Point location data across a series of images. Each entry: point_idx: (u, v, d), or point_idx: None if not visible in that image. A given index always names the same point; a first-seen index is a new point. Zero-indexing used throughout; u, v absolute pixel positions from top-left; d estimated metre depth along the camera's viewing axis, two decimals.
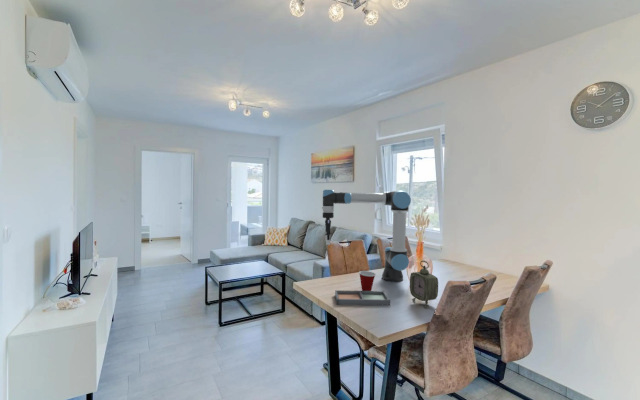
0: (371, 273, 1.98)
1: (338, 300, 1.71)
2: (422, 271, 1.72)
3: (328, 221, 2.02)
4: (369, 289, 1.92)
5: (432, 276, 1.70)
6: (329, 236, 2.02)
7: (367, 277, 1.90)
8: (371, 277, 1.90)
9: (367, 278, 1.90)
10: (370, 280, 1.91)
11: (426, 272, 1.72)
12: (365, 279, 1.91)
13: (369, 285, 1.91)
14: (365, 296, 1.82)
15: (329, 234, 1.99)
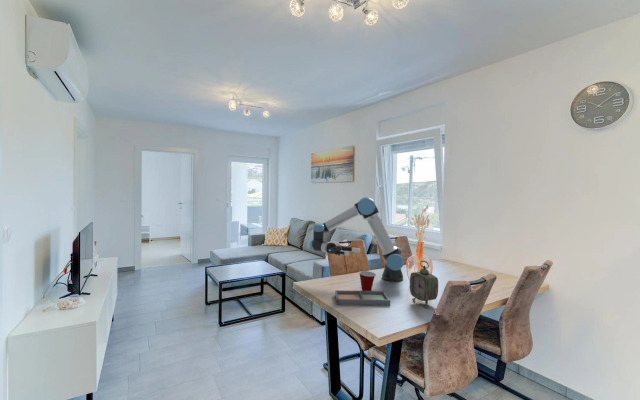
0: (371, 273, 1.98)
1: (338, 300, 1.71)
2: (422, 271, 1.72)
3: (329, 250, 2.05)
4: (369, 289, 1.92)
5: (432, 276, 1.70)
6: (341, 251, 1.98)
7: (367, 277, 1.90)
8: (371, 277, 1.90)
9: (367, 278, 1.90)
10: (370, 280, 1.91)
11: (426, 272, 1.72)
12: (365, 279, 1.91)
13: (369, 285, 1.91)
14: (365, 296, 1.82)
15: (337, 251, 1.97)
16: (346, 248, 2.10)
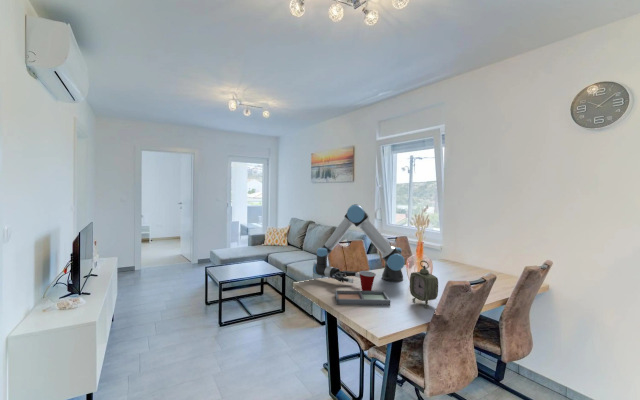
0: (371, 273, 1.98)
1: (338, 300, 1.71)
2: (422, 271, 1.72)
3: (333, 276, 2.03)
4: (369, 289, 1.92)
5: (432, 276, 1.70)
6: (345, 278, 1.96)
7: (367, 277, 1.90)
8: (371, 277, 1.90)
9: (367, 278, 1.90)
10: (370, 280, 1.91)
11: (426, 272, 1.72)
12: (365, 279, 1.91)
13: (369, 285, 1.91)
14: (365, 296, 1.82)
15: (341, 278, 1.95)
16: (350, 273, 2.08)
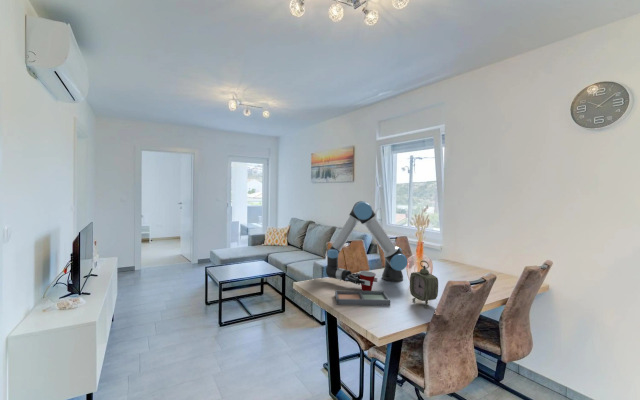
0: (371, 273, 1.98)
1: (338, 300, 1.71)
2: (422, 271, 1.72)
3: (346, 279, 1.97)
4: (369, 289, 1.92)
5: (432, 276, 1.70)
6: (361, 280, 1.91)
7: (367, 277, 1.90)
8: (371, 277, 1.90)
9: (367, 278, 1.90)
10: (370, 280, 1.91)
11: (426, 272, 1.72)
12: (365, 279, 1.91)
13: None
14: (365, 296, 1.82)
15: (357, 281, 1.91)
16: None
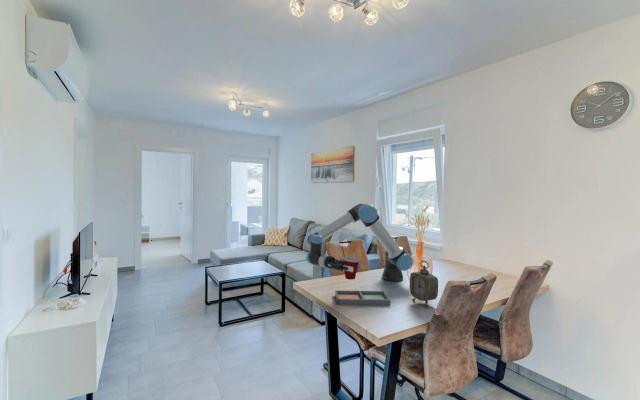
0: (355, 259, 1.85)
1: (338, 300, 1.71)
2: (422, 271, 1.72)
3: (329, 265, 1.84)
4: (353, 276, 1.79)
5: (432, 276, 1.70)
6: (344, 266, 1.78)
7: (350, 263, 1.77)
8: (355, 263, 1.77)
9: (350, 263, 1.77)
10: (354, 266, 1.78)
11: (426, 272, 1.72)
12: (348, 265, 1.78)
13: (353, 271, 1.79)
14: (365, 296, 1.82)
15: (339, 267, 1.78)
16: None
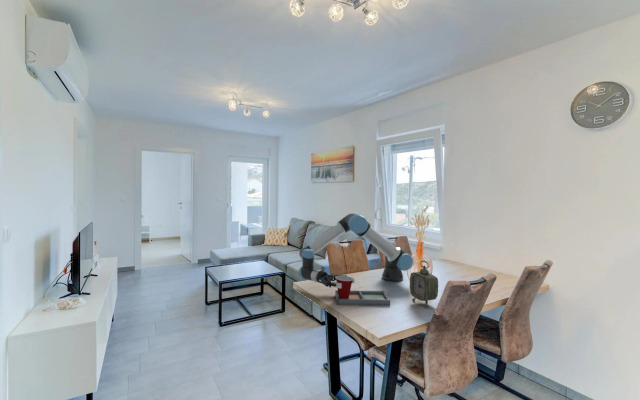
0: (349, 278, 1.81)
1: (338, 300, 1.71)
2: (422, 271, 1.72)
3: (319, 280, 1.83)
4: (346, 295, 1.75)
5: (432, 276, 1.70)
6: (333, 282, 1.77)
7: (343, 282, 1.74)
8: (347, 282, 1.74)
9: (343, 282, 1.74)
10: (346, 285, 1.74)
11: (426, 272, 1.72)
12: None
13: (346, 291, 1.74)
14: (365, 296, 1.82)
15: (328, 283, 1.76)
16: None
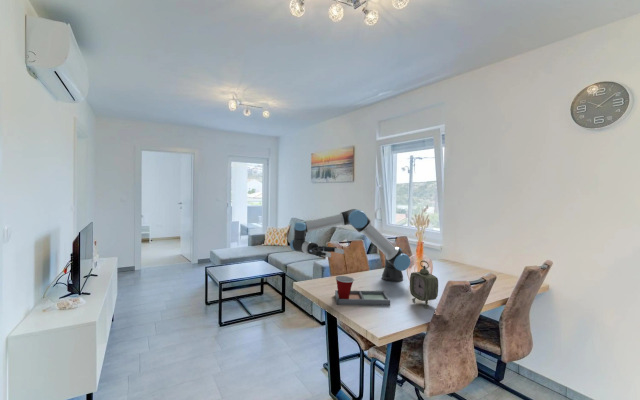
0: (350, 279, 1.80)
1: (338, 300, 1.71)
2: (422, 271, 1.72)
3: (310, 250, 1.89)
4: (346, 296, 1.75)
5: (432, 276, 1.70)
6: (322, 252, 1.82)
7: (343, 283, 1.73)
8: (347, 283, 1.73)
9: (343, 284, 1.73)
10: (346, 286, 1.73)
11: (426, 272, 1.72)
12: (340, 285, 1.74)
13: (345, 292, 1.74)
14: (365, 296, 1.82)
15: (318, 252, 1.81)
16: (329, 249, 1.94)
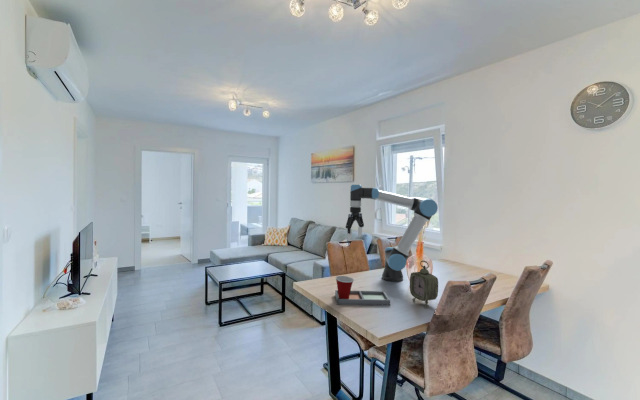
0: (350, 279, 1.80)
1: (338, 300, 1.71)
2: (422, 271, 1.72)
3: (349, 215, 2.07)
4: (346, 296, 1.75)
5: (432, 276, 1.70)
6: (350, 230, 2.07)
7: (343, 283, 1.73)
8: (347, 283, 1.73)
9: (343, 284, 1.73)
10: (346, 286, 1.73)
11: (426, 272, 1.72)
12: (340, 285, 1.74)
13: (345, 292, 1.74)
14: (365, 296, 1.82)
15: (348, 228, 2.05)
16: (359, 222, 2.16)
